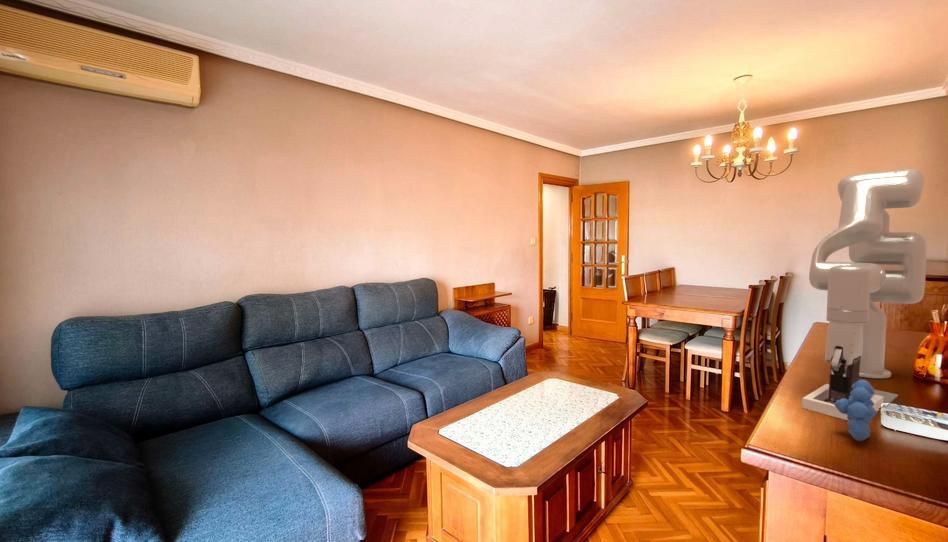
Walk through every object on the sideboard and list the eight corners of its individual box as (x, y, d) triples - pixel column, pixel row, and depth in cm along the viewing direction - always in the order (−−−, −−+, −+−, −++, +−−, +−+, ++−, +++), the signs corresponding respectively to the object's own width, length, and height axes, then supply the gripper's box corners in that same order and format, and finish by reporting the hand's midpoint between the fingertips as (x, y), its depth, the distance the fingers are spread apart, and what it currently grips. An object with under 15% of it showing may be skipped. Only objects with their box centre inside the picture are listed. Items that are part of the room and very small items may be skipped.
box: (851, 407, 96) (853, 358, 95) (827, 401, 100) (829, 354, 99) (859, 401, 99) (861, 353, 98) (835, 396, 103) (837, 349, 102)
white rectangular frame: (826, 392, 108) (826, 383, 108) (883, 406, 99) (883, 396, 99) (801, 408, 99) (802, 398, 99) (862, 424, 90) (862, 413, 90)
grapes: (836, 421, 92) (838, 370, 91) (878, 431, 87) (881, 377, 86) (828, 439, 84) (830, 383, 83) (873, 451, 79) (876, 391, 78)
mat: (838, 383, 115) (838, 381, 115) (898, 396, 105) (898, 394, 105) (824, 391, 109) (824, 390, 109) (886, 406, 99) (886, 404, 99)
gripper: (839, 309, 106) (836, 376, 107) (814, 318, 96) (811, 391, 98) (878, 313, 99) (875, 384, 101) (856, 323, 90) (852, 401, 92)
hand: (844, 387), depth 99 cm, fingers closed on box, 5 cm apart
